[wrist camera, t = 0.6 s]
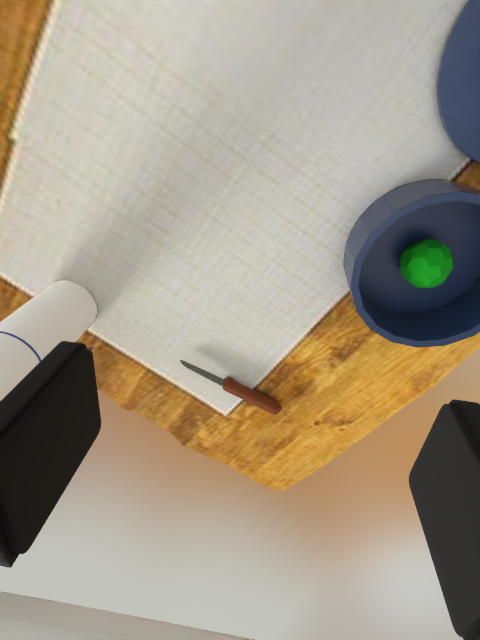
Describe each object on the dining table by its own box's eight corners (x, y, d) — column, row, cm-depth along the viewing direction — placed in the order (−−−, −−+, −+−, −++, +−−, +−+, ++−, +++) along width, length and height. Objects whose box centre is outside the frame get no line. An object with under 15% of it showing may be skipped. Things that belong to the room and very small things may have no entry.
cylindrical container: (96, 286, 48) (-64, 435, 26) (98, 332, 52) (-42, 496, 30) (42, 275, 48) (-160, 413, 27) (47, 321, 52) (-127, 476, 30)
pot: (371, 164, 37) (384, 175, 31) (530, 196, 37) (572, 213, 31) (325, 301, 45) (330, 329, 39) (456, 329, 45) (478, 360, 39)
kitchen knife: (282, 401, 54) (282, 411, 52) (277, 407, 54) (277, 417, 53) (183, 352, 52) (180, 361, 50) (180, 359, 52) (176, 368, 50)
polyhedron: (432, 224, 39) (448, 238, 35) (451, 261, 40) (469, 279, 36) (386, 250, 41) (396, 267, 37) (406, 284, 42) (418, 304, 38)
